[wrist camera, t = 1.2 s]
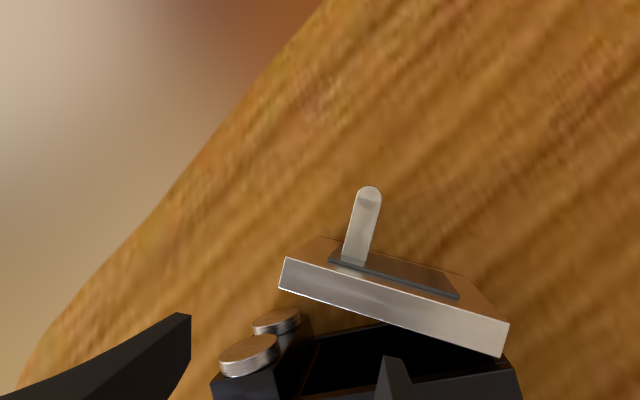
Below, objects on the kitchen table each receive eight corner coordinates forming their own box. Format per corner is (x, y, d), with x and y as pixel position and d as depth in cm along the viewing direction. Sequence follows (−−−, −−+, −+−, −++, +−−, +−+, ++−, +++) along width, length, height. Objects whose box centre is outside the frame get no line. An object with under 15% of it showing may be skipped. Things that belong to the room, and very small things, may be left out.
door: (332, 176, 23) (306, 168, 15) (485, 214, 21) (540, 226, 14) (311, 257, 23) (277, 287, 16) (460, 300, 22) (500, 359, 14)
